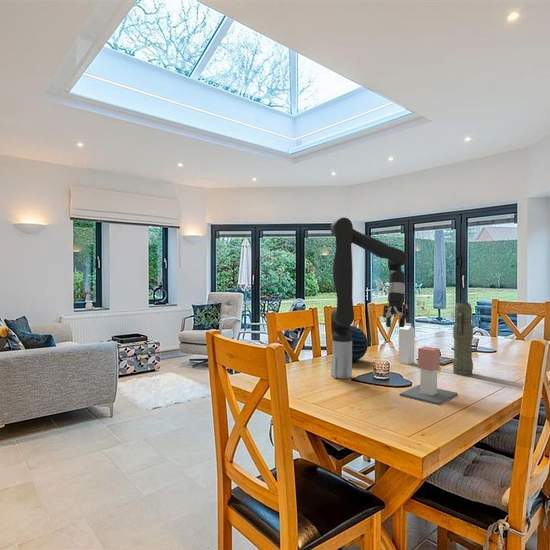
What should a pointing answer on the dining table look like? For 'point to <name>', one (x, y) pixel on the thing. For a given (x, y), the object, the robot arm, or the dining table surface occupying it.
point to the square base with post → (428, 389)
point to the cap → (429, 358)
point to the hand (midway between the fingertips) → (394, 327)
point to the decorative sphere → (357, 343)
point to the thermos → (463, 339)
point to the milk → (406, 344)
